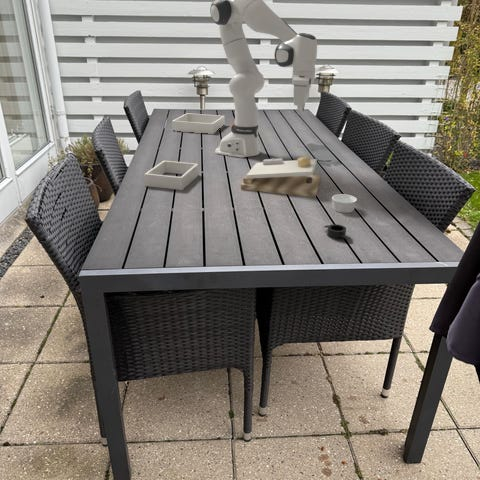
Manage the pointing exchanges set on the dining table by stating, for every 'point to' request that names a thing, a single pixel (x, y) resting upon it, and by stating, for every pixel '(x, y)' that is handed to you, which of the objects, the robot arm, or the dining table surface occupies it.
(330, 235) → the duct tape
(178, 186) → the frame
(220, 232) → the dining table surface
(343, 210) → the ramekin
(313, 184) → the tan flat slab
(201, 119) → the white square tray
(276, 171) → the plate
